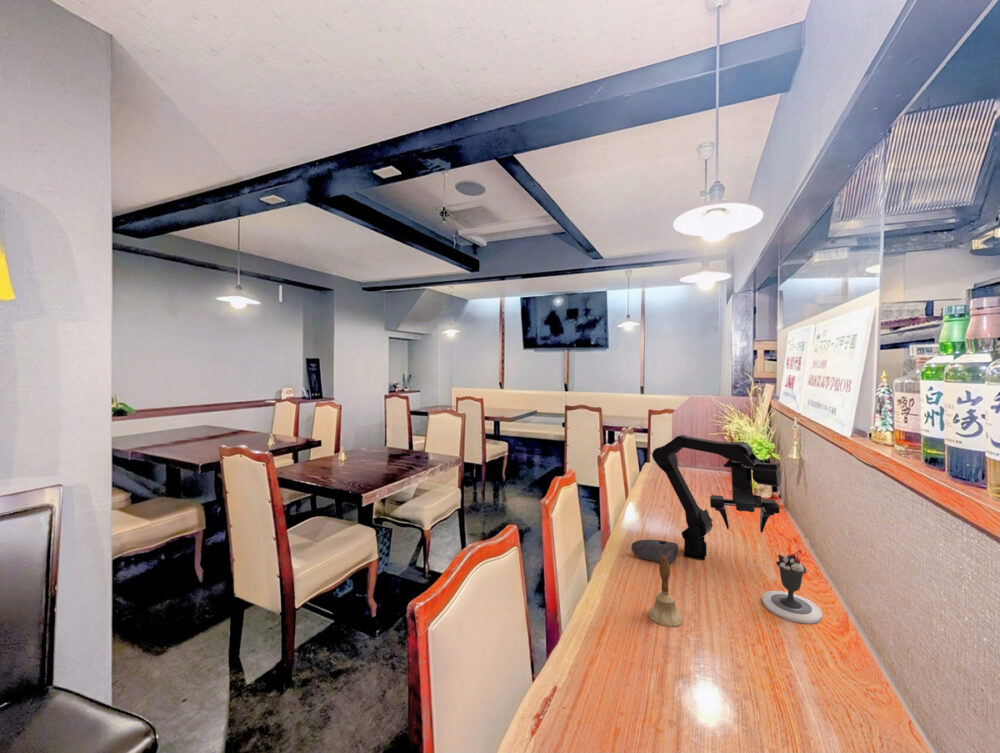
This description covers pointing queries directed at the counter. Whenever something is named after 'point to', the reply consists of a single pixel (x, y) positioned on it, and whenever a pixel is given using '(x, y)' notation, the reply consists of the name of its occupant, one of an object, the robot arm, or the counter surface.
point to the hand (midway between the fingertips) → (744, 530)
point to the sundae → (791, 577)
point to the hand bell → (665, 601)
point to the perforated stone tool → (655, 550)
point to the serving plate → (802, 615)
